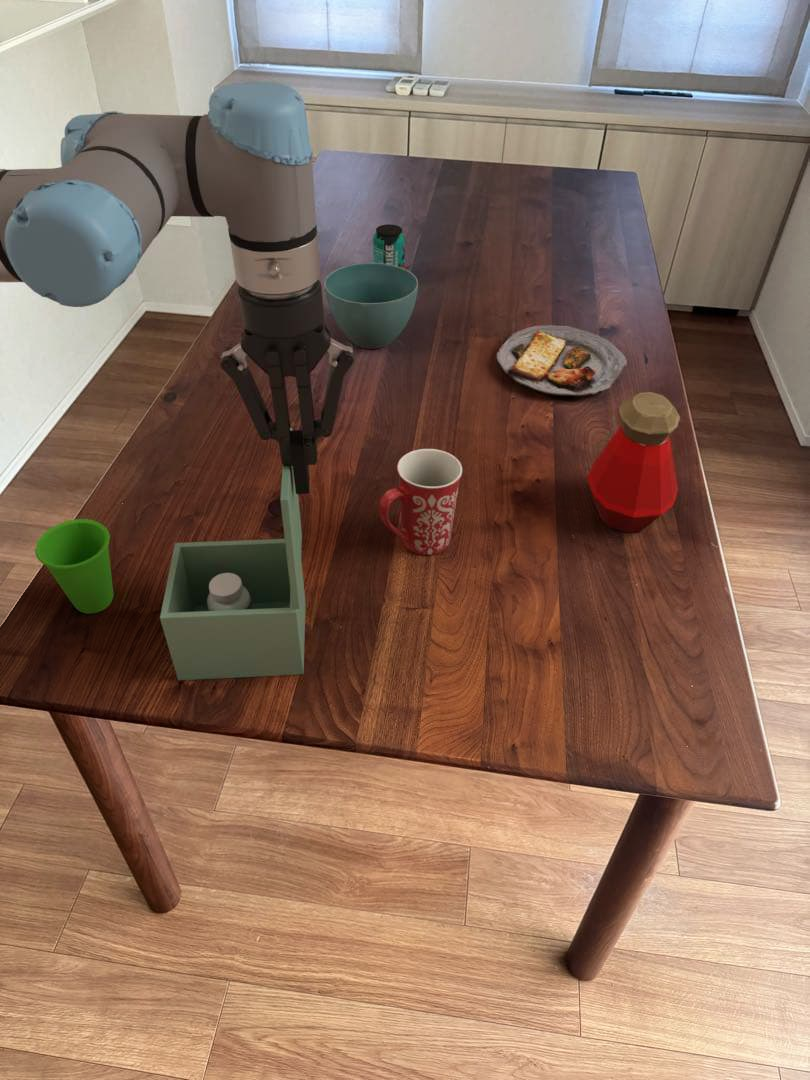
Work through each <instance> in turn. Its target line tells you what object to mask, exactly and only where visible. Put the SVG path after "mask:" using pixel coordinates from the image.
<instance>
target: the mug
mask: <svg viewBox="0 0 810 1080" xmlns="http://www.w3.org/2000/svg"><path fill="white" fill-rule="evenodd" d="M396 471H397V474H398V487H393V488H391V489H388V490H387V491H386V492H385V493H383V495H382V496H381V497H380V500H379V503H378V514H379V517H380V519H381V521H382V523H383V524H384V525H385V527H386V528H388V530H390V531H391V532H392V533H394V534H395V535H396V536H398V537H399V538H401V541H402V544H403V545H404V547H405V549H407V550H409V551H410V552H412V553H415V554H417V555H423V556H432V555H437V554H440V553H442V552H443V551H445V550H446V549H447V548H448V546H449V545H450V542H451V538H452V531H453V524H454V518H455V512H456V506H457V499H458V493H459V487H460V482H461V481H460V480H461V478H462V476H463V466H462V463H461V461H460V460H459V459H458V458H457V457H456V456H454V455H453V454H451V453H449V452H447V451H444V450H441V449H436V448H419V449H415V450H412V451H409V452H407V453H406V454H404V455H403V456H402V457H400V459H399V460H398V461H397V464H396ZM398 498H399V507H400V508H399V509H400V526H401V528H398V527H396V526H395V525H394V524H392V522H391V521H390V518H389V510H390V508H391V505H392V503H393V502H394V501H395V500H397V499H398Z"/></svg>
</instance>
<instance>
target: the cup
mask: <svg viewBox="0 0 810 1080" xmlns="http://www.w3.org/2000/svg"><path fill="white" fill-rule="evenodd" d="M110 539H111V536H110V531H109V530H108V529H107V527H106V526H105V525H103V524H102V523H101V522H98V521H96V520H94V519H89V518H88V519H87V518H76V519H70V520H67V521H63V522H59V523H58V524H55V525H54V526H52V527H51V528H49V529H47V530H46V531H45V532H44V533H42V535H41V536H40V537H39V539H38V540H37V542H36V545H35V557H36V558H37V560H38V561H39V562H40V563H41V564H42V565H44V566H45V567H46V568H47V570H48V572H49V573H50V574H51V576H53V578H54V579H55V581H56V582H57V584H58V585H59V587H60V588H61V590H62V591H63V592H64V594H65V595H66V597H67V598H68V600H69V601H70V603H71V604H72V605H73V607H74V608H75V609H76V610H77V611H79V612H81V613H82V614H88V615H89V614H96V613H97V614H98V613H100V612H103V611H104V610H106V609H108V607H109V606H110V605H111V603H112V601H113V598H114V586H113V576H112V567H111V559H110V558H111V557H110V551H109V550H110V549H109V548H110V547H109V544H110Z"/></svg>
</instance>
